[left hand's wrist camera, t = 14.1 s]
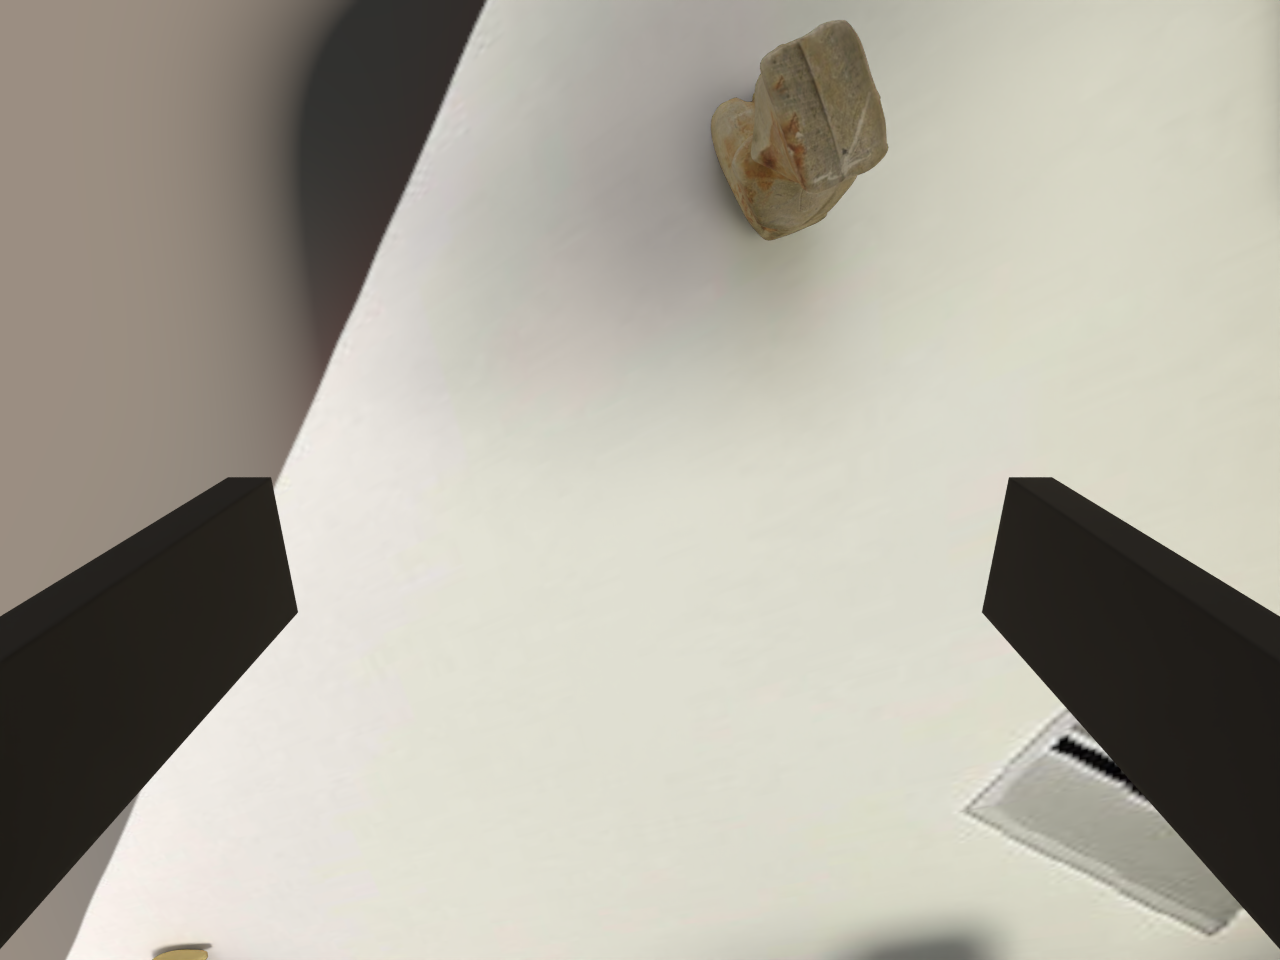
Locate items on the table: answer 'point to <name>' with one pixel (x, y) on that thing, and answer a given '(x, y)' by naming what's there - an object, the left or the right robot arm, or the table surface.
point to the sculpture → (801, 131)
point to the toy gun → (183, 955)
